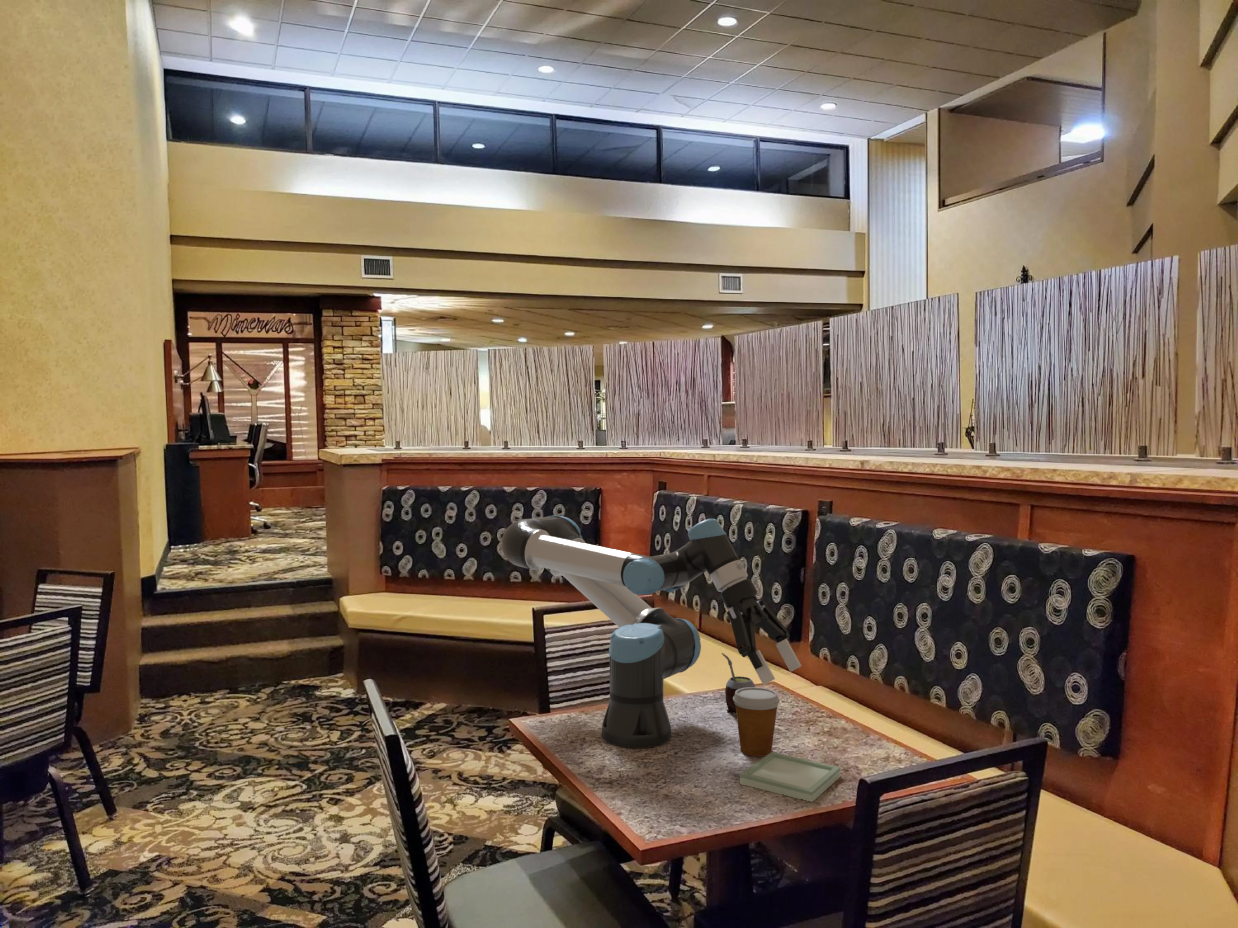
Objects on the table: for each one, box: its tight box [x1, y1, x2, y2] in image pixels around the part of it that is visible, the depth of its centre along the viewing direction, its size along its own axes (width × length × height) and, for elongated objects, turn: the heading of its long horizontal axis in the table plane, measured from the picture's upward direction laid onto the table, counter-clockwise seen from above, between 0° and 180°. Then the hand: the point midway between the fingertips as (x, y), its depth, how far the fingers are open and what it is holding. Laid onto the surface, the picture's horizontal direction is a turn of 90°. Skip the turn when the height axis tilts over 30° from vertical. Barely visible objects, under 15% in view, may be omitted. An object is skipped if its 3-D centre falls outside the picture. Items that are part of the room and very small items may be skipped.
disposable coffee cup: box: [733, 686, 781, 757], centre depth 169 cm, size 10×10×12 cm
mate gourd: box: [721, 653, 756, 714], centre depth 194 cm, size 8×8×15 cm
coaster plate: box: [739, 751, 841, 803], centre depth 154 cm, size 14×14×2 cm
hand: (783, 675), depth 172 cm, fingers open, 13 cm apart
